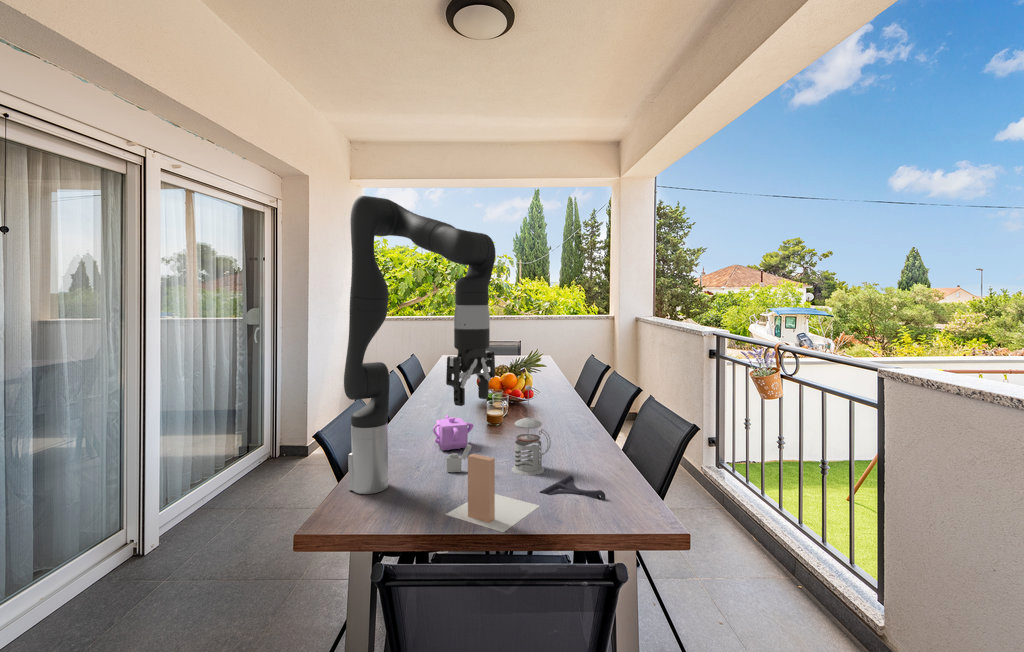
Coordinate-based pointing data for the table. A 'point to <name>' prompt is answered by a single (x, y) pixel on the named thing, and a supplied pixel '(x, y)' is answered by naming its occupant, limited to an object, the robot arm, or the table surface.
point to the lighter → (457, 460)
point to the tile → (481, 487)
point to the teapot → (452, 433)
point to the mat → (498, 513)
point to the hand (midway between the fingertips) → (471, 401)
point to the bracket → (572, 489)
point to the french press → (528, 447)
